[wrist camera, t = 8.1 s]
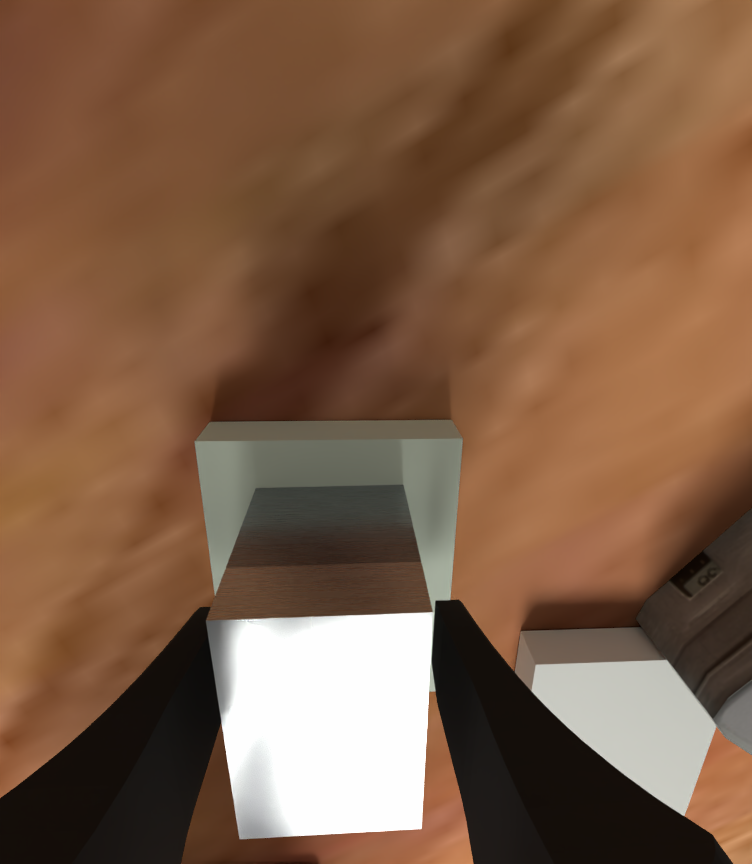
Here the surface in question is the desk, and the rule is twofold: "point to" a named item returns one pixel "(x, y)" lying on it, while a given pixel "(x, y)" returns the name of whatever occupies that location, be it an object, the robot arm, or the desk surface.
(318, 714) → the block
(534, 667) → the stand
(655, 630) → the hard drive
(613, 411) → the desk surface
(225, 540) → the stand
